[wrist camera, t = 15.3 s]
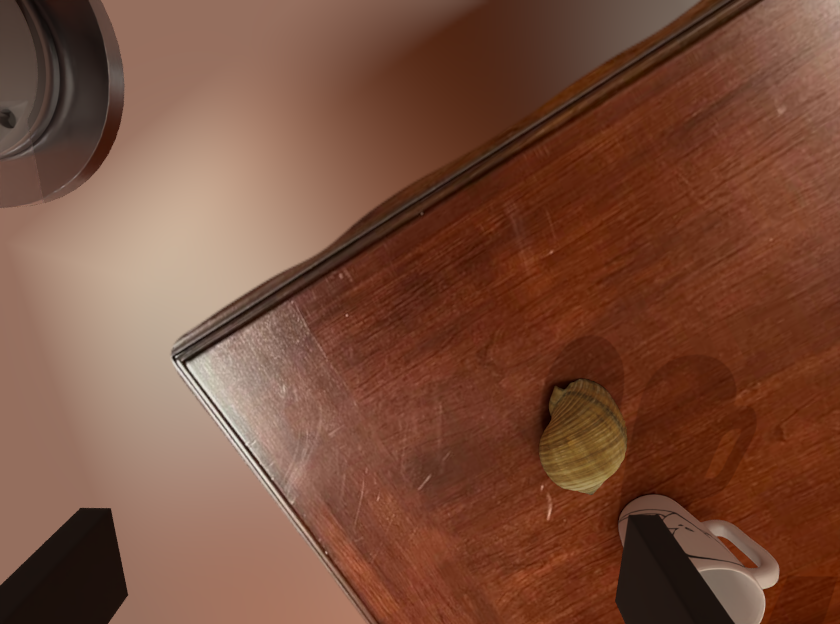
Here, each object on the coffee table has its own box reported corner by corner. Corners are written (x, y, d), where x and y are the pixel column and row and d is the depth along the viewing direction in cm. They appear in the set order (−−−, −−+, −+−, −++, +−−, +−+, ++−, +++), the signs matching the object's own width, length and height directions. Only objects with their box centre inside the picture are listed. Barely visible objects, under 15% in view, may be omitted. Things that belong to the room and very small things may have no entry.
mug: (725, 471, 44) (809, 553, 34) (726, 544, 46) (805, 640, 37) (602, 490, 45) (651, 576, 35) (609, 562, 47) (657, 660, 37)
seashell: (547, 371, 46) (504, 408, 40) (618, 361, 41) (580, 401, 35) (582, 462, 46) (544, 510, 41) (655, 463, 41) (623, 519, 36)
